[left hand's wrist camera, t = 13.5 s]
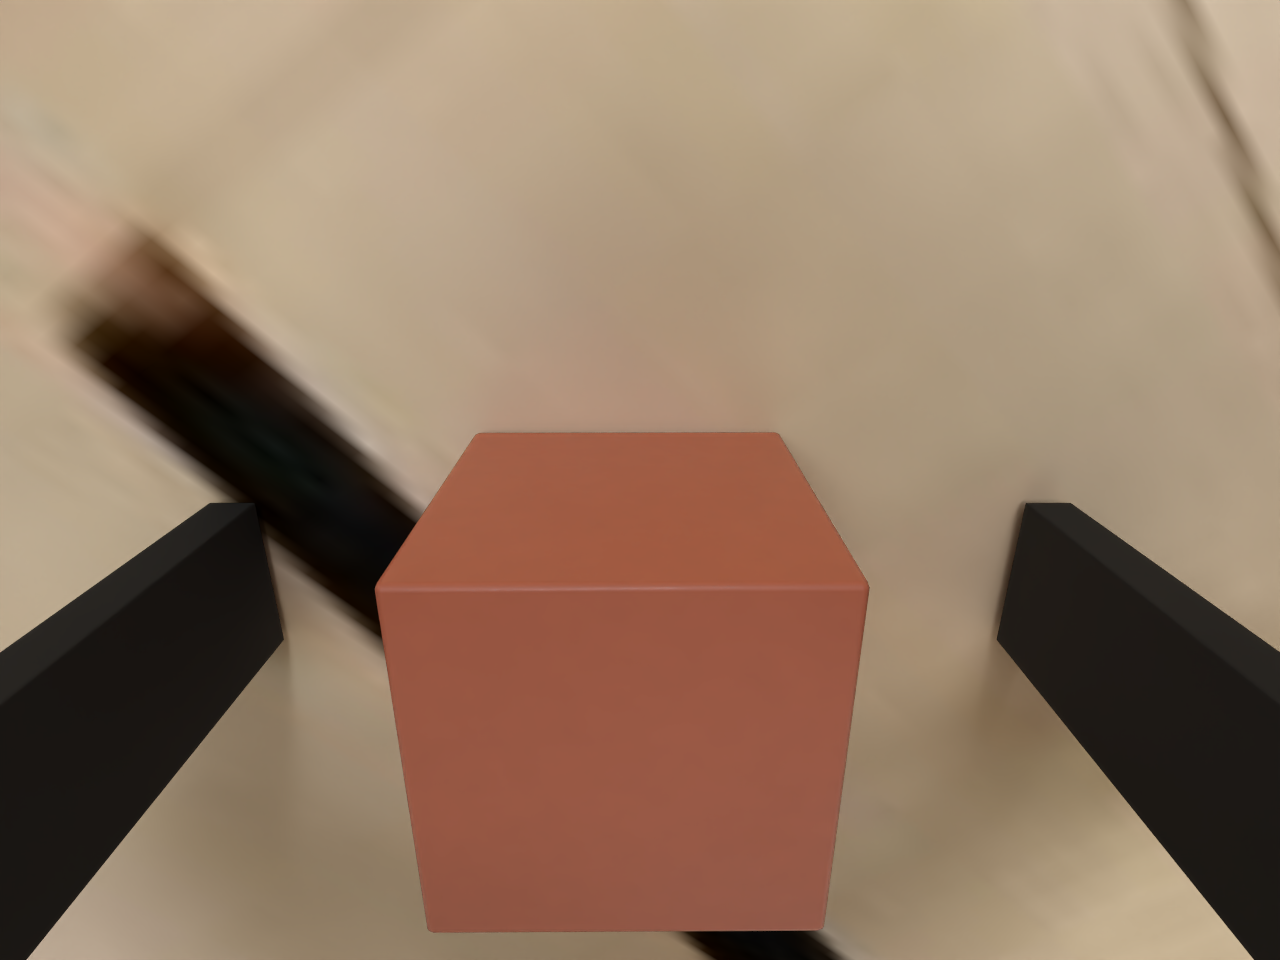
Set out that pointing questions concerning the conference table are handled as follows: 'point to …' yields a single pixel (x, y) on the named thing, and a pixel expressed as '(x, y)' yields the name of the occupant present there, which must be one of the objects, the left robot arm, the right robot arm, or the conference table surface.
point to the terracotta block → (623, 685)
